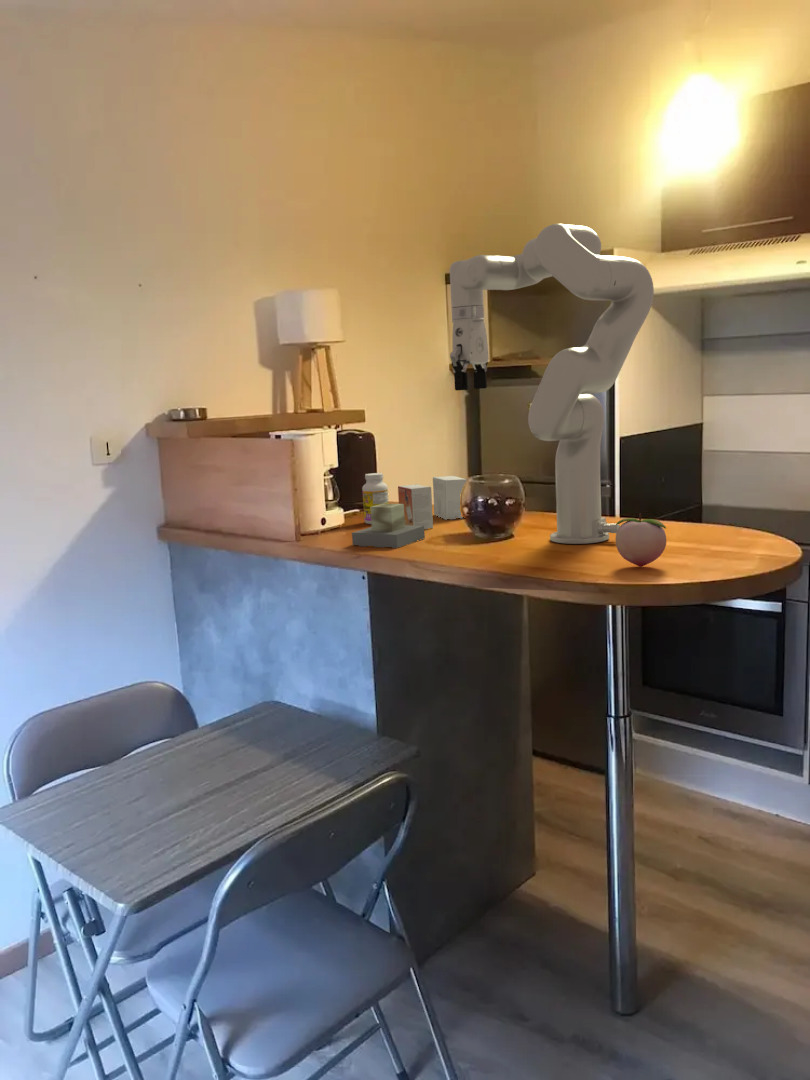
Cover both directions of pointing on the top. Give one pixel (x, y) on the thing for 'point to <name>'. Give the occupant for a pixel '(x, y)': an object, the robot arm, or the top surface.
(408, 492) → the small box
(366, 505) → the supplement bottle
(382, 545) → the plinth
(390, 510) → the cube
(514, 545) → the top surface
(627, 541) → the decorative fruit
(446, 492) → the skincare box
